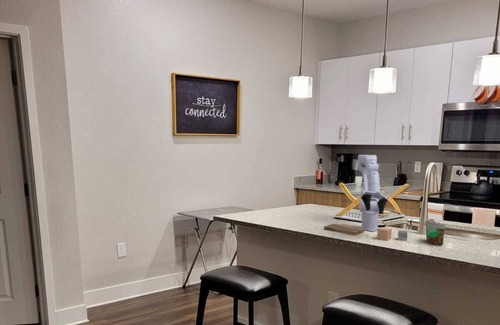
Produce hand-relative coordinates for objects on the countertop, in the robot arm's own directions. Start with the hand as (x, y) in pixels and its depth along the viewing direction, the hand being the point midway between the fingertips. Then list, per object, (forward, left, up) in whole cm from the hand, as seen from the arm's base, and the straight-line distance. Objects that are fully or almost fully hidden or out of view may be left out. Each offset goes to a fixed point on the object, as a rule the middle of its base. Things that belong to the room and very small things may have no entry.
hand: (374, 211), depth 182 cm
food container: (-13, +22, -14) cm, 29 cm away
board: (-5, -19, -13) cm, 23 cm away
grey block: (-9, +10, -13) cm, 19 cm away
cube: (-4, +3, -13) cm, 14 cm away
